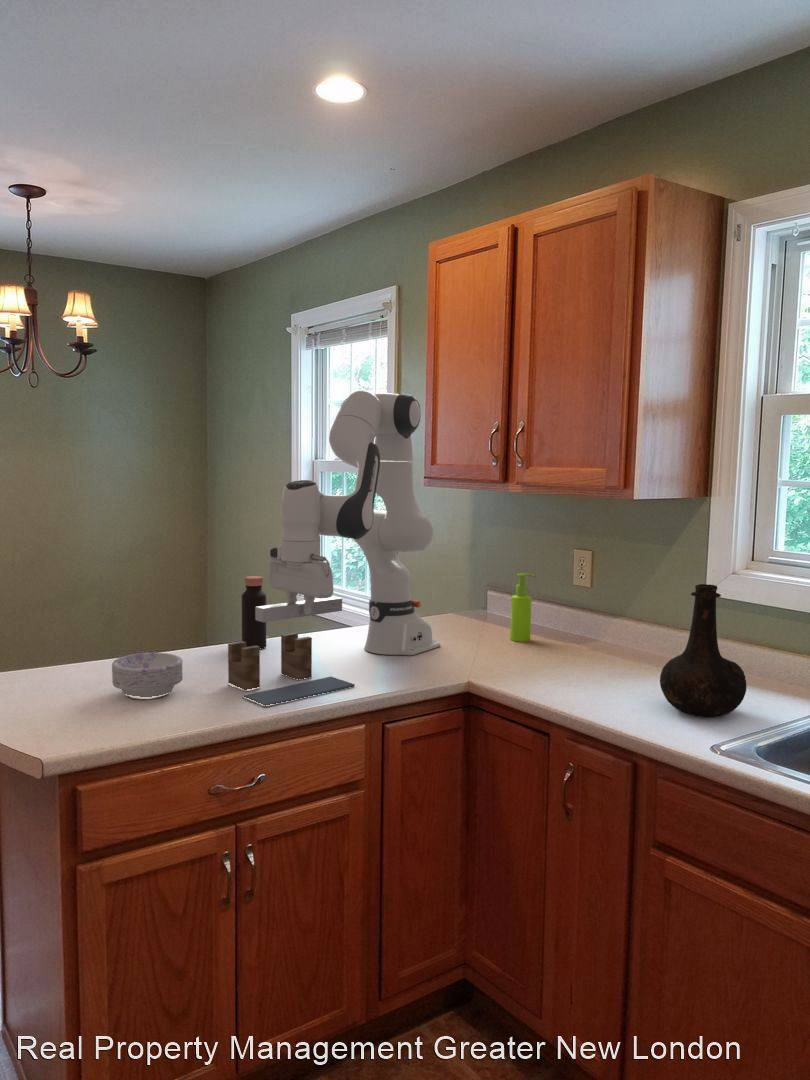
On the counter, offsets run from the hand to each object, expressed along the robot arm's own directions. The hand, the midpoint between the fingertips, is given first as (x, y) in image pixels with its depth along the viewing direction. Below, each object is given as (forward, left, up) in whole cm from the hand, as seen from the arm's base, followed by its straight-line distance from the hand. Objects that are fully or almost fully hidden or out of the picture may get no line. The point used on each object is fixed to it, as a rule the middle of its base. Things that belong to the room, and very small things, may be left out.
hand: (300, 612), depth 190 cm
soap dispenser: (-83, -2, -19) cm, 85 cm away
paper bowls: (+27, -21, -19) cm, 39 cm away
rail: (0, 0, -1) cm, 1 cm away
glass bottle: (-58, +68, -19) cm, 91 cm away
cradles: (0, -12, -19) cm, 22 cm away
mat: (0, 0, -19) cm, 19 cm away
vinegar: (-16, -44, -19) cm, 50 cm away
